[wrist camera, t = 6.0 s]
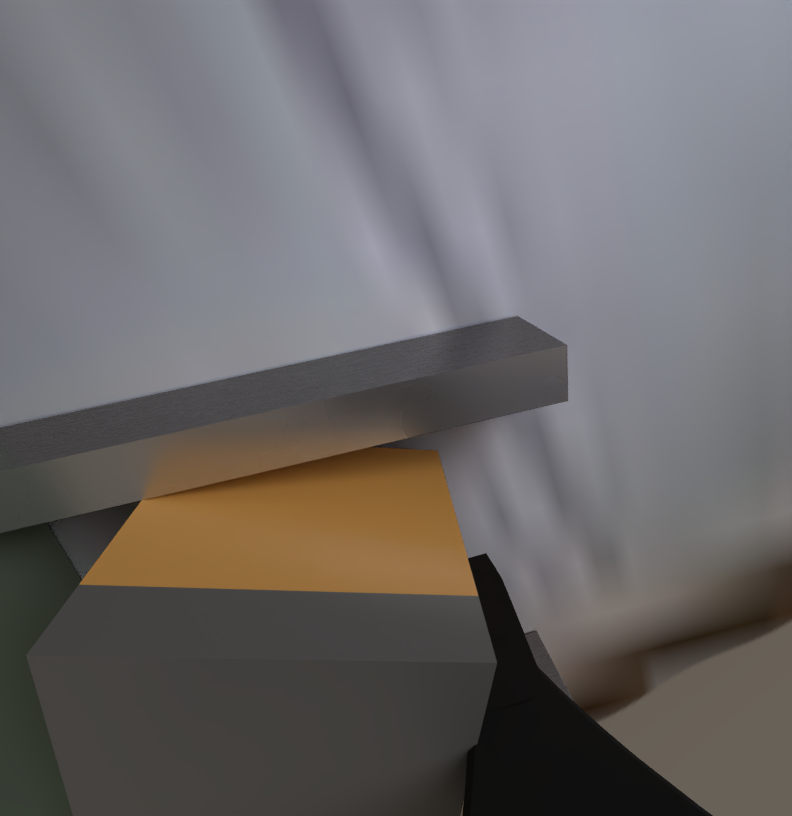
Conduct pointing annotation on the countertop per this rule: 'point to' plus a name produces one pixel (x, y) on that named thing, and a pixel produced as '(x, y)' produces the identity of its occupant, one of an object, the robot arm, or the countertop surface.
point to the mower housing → (225, 475)
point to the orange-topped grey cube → (274, 649)
